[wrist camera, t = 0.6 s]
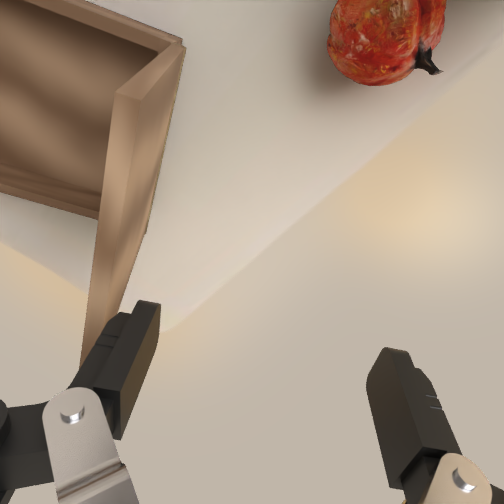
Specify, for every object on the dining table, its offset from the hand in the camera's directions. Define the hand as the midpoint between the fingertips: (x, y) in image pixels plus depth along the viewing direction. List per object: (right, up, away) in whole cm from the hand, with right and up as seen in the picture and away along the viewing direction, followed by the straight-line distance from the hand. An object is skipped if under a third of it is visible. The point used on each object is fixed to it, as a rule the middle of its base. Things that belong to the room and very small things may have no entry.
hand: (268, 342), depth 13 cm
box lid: (-8, +7, +9) cm, 13 cm away
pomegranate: (+8, +20, +13) cm, 25 cm away
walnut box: (-15, +15, +16) cm, 27 cm away
